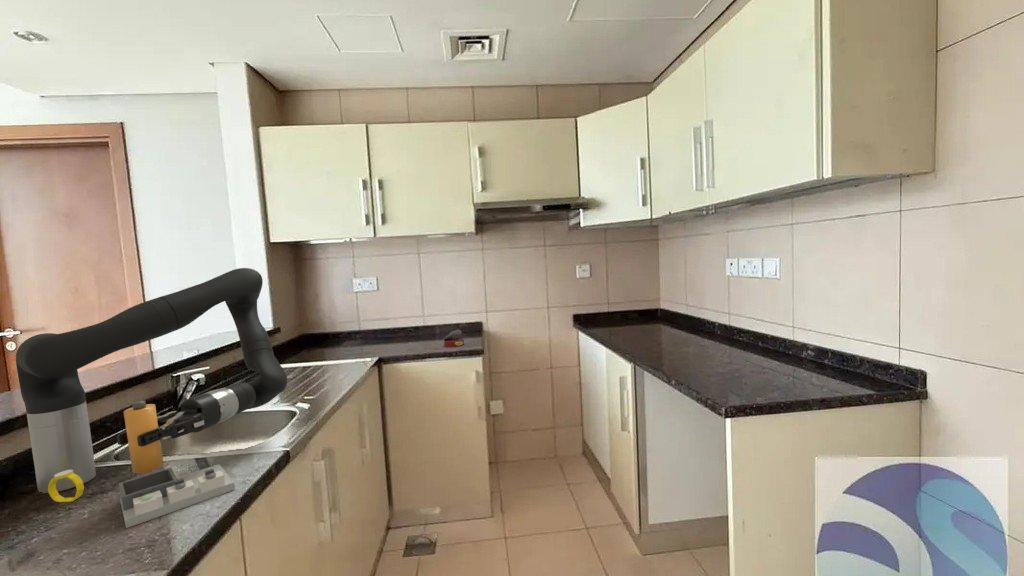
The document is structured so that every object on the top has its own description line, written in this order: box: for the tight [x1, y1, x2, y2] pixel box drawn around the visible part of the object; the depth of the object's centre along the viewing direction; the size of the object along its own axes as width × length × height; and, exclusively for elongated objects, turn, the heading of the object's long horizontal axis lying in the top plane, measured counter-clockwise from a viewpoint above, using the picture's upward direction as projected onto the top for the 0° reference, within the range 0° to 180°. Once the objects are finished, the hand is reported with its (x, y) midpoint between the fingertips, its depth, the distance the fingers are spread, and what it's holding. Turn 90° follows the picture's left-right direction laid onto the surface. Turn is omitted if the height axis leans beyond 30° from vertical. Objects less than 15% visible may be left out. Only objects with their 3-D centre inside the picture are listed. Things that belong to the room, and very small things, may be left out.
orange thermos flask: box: [123, 400, 164, 474], centre depth 89 cm, size 5×5×13 cm
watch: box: [47, 470, 85, 503], centre depth 92 cm, size 6×3×6 cm, turn 91°
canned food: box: [443, 329, 465, 348], centre depth 229 cm, size 11×10×10 cm
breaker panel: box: [118, 463, 236, 529], centre depth 91 cm, size 13×17×4 cm
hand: (129, 440), depth 87 cm, fingers closed on orange thermos flask, 4 cm apart
